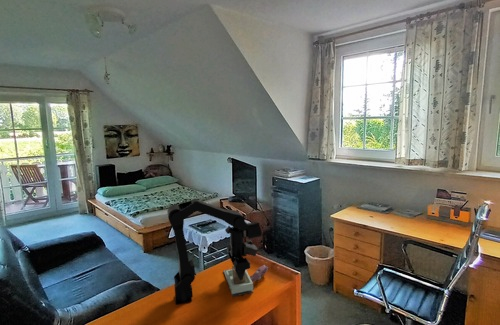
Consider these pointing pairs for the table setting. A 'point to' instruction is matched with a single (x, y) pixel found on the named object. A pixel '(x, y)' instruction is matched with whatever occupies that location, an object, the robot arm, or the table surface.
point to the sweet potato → (259, 273)
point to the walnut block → (236, 278)
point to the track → (237, 293)
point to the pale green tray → (239, 287)
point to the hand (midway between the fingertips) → (238, 274)
